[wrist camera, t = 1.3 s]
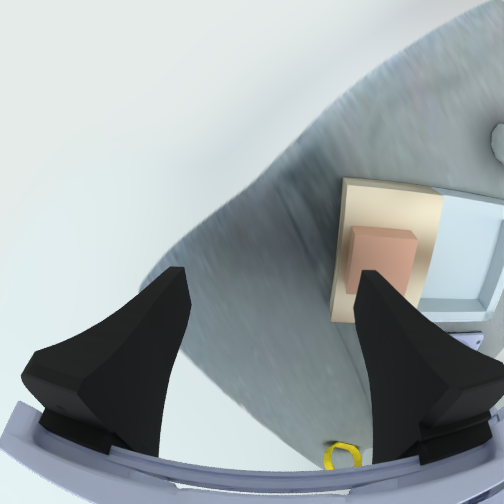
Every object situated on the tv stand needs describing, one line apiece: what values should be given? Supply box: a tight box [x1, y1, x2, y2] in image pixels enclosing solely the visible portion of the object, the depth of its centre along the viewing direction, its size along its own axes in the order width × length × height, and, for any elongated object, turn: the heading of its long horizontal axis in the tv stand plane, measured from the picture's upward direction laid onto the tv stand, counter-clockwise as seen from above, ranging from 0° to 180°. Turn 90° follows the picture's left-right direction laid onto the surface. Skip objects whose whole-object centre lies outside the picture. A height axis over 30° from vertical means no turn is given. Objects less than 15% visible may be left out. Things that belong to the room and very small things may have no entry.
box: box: [417, 187, 504, 322], centre depth 17 cm, size 10×8×2 cm
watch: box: [324, 442, 362, 470], centre depth 30 cm, size 6×3×6 cm, turn 65°
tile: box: [344, 226, 418, 297], centre depth 17 cm, size 4×4×2 cm
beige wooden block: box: [330, 177, 444, 323], centre depth 19 cm, size 10×6×2 cm, turn 1°
